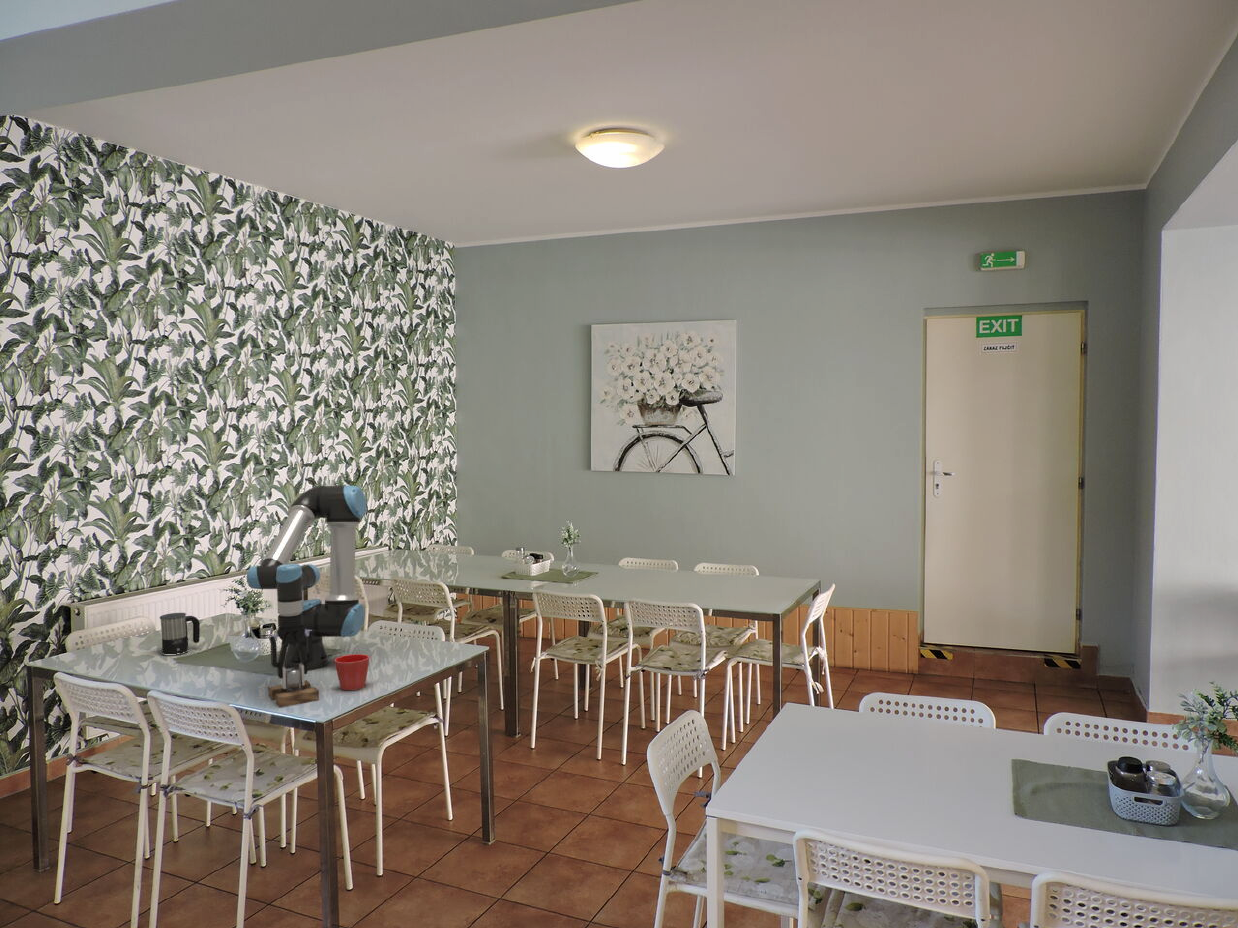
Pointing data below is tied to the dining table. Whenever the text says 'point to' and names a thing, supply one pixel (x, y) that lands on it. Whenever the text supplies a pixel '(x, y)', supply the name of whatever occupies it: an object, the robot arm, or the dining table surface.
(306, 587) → the robot arm
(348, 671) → the flower pot
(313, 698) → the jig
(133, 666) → the dining table surface
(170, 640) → the milk frother
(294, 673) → the bushing
